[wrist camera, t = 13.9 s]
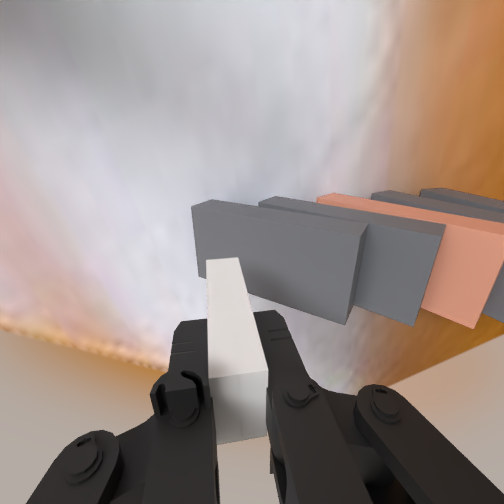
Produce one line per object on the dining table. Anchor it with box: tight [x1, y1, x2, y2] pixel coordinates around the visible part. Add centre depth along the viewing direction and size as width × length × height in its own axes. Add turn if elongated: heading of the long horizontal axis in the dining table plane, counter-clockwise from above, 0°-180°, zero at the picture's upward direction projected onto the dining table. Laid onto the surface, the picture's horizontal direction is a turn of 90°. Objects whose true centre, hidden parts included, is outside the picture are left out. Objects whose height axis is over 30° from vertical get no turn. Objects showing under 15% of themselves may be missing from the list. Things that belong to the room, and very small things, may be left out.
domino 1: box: [191, 200, 368, 325], centre depth 16 cm, size 2×5×10 cm
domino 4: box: [420, 188, 504, 213], centre depth 17 cm, size 2×5×10 cm, turn 1°
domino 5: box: [371, 191, 504, 323], centre depth 17 cm, size 2×5×10 cm, turn 1°
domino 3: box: [317, 193, 504, 329], centre depth 16 cm, size 2×5×10 cm
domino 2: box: [259, 196, 447, 327], centre depth 16 cm, size 2×5×10 cm
